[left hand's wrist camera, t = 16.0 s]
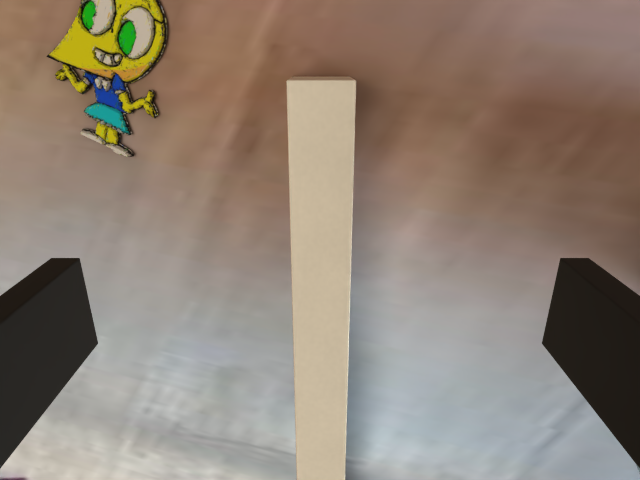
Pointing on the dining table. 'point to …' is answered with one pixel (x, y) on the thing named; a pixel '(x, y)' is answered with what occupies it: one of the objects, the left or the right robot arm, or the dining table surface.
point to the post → (321, 265)
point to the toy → (112, 61)
